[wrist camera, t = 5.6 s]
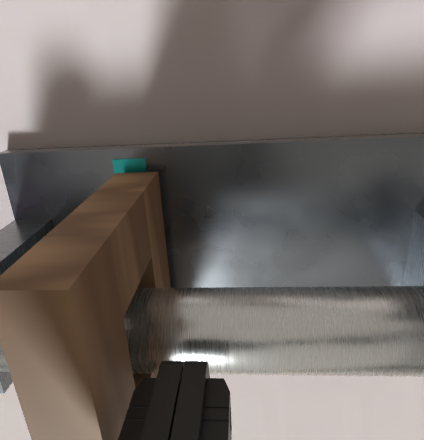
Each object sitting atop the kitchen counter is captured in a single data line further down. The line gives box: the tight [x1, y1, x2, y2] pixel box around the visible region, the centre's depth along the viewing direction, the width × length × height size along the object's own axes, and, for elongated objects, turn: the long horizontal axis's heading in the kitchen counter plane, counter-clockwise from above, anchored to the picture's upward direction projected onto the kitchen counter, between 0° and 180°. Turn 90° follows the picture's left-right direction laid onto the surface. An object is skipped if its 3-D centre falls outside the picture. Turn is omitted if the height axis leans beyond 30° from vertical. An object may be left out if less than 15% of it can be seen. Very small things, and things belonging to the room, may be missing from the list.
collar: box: [0, 172, 171, 440], centre depth 15 cm, size 2×10×10 cm, turn 3°
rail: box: [0, 133, 424, 393], centre depth 17 cm, size 22×12×8 cm, turn 93°
